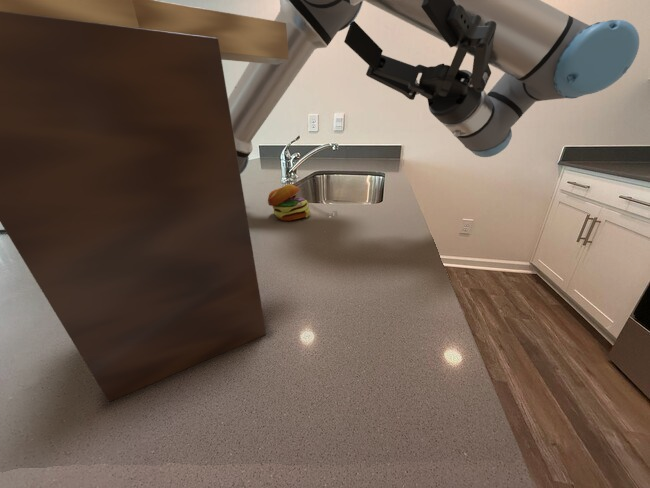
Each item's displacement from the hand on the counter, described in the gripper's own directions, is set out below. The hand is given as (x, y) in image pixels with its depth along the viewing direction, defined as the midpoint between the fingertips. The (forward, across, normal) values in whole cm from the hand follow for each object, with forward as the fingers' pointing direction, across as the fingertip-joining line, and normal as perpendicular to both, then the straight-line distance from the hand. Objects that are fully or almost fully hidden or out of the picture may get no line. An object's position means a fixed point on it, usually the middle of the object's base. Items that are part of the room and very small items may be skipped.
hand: (381, 13), depth 32 cm
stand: (+10, 0, -46) cm, 47 cm away
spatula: (+19, 0, -17) cm, 25 cm away
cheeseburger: (-16, +34, -32) cm, 49 cm away
